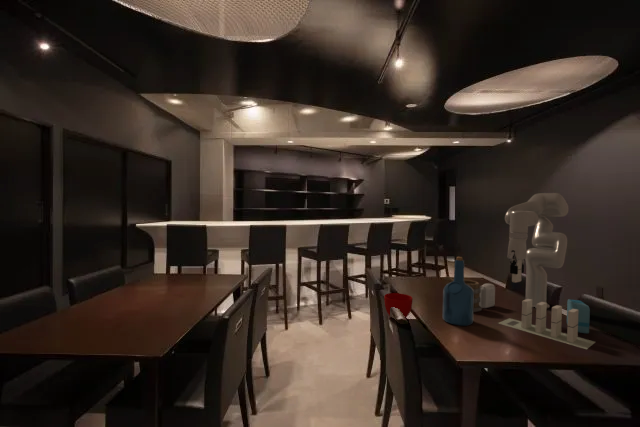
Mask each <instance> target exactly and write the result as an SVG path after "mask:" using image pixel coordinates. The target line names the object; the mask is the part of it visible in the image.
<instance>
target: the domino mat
mask: <svg viewBox="0 0 640 427" xmlns="http://www.w3.org/2000/svg"><path fill="white" fill-rule="evenodd" d="M521 321H522V320H517V319H515V318H514V319H513V318H507V319H503V321H500V322H497V324H499V325H503V326H505V327H509V328H512V329H515V330H520V331H523V332H526V333H529V334H533V335H537V336H539V337H542V338H546V339H550V340H553V341H556V342H560V343H562V344H563V343H564V344H568V345H570V346H574V347H577V348H580V349H584V350H588V349H589V348H591V346H593V345H594V344H596V341H594V340H589V339H588V338H587V339H586V338H583V337H580V336H578V337H577V340H576V341H574V342H573V343H572V342H569V341H567V333H566V332H561V335H560V336H558V337H556V338H555V337H551V328H547V327H546V330H545V331H544V332H542V333H537V332H536V324H531V327H529V328H527V329H524V328H521Z"/></svg>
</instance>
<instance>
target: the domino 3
mask: <svg viewBox="0 0 640 427" xmlns="http://www.w3.org/2000/svg"><path fill="white" fill-rule="evenodd" d="M547 304H548V303H547V302H546V303H545V302H540V303H538V304H536V308H535V311H536V312H535V325H536V332H537V333H542V332H544V331H545V330H546V328H547V309H548V308H547Z"/></svg>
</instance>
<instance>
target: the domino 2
mask: <svg viewBox="0 0 640 427" xmlns="http://www.w3.org/2000/svg"><path fill="white" fill-rule="evenodd" d="M525 299H526V298H525ZM525 299H524V300H522V301H521V320H520V321H521V328H524V329H527V328H529V327H531V324H532V323H533V322H532V320H533V318H532V317H533V307H532V300H531V299H526V300H525ZM532 325H533V324H532Z"/></svg>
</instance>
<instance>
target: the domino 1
mask: <svg viewBox="0 0 640 427" xmlns="http://www.w3.org/2000/svg"><path fill="white" fill-rule="evenodd" d="M513 259H516V258H513ZM515 262H516V261H515ZM517 266H518V274H511V282H512V283H520V282H522V274H523V273H522V260H518V264H517Z"/></svg>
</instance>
